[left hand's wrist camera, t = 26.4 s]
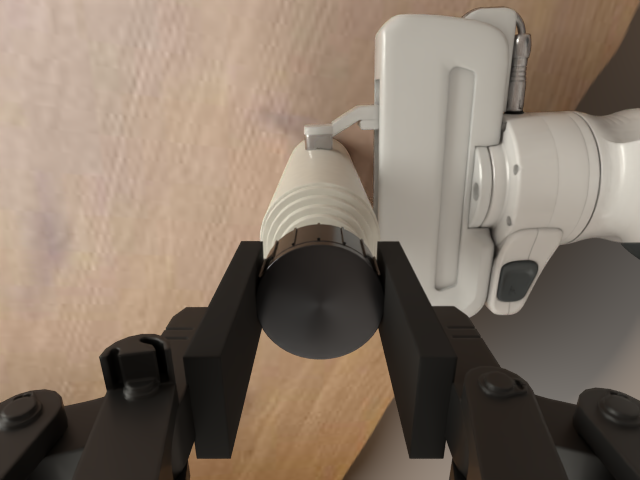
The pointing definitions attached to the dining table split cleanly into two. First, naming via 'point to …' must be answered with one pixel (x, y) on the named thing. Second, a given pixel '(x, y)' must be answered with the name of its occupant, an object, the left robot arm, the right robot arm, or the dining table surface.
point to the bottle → (320, 197)
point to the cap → (320, 292)
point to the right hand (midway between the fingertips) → (307, 188)
